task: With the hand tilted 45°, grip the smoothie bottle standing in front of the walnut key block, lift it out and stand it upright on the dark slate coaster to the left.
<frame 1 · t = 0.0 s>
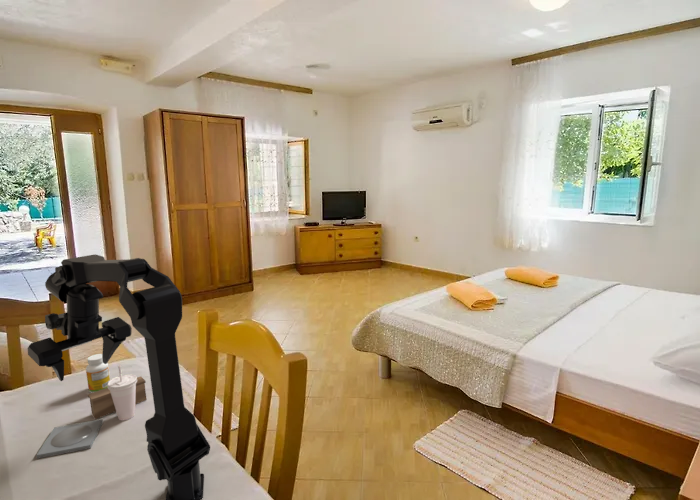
hand: (83, 371, 91), 15 cm above the table, tool pointing down, fingers open, 9 cm apart
supplement bottle: (100, 389, 112), on the table
coaster: (72, 439, 91), on the table
smoothie: (126, 416, 100), on the table
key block: (120, 406, 103), on the table
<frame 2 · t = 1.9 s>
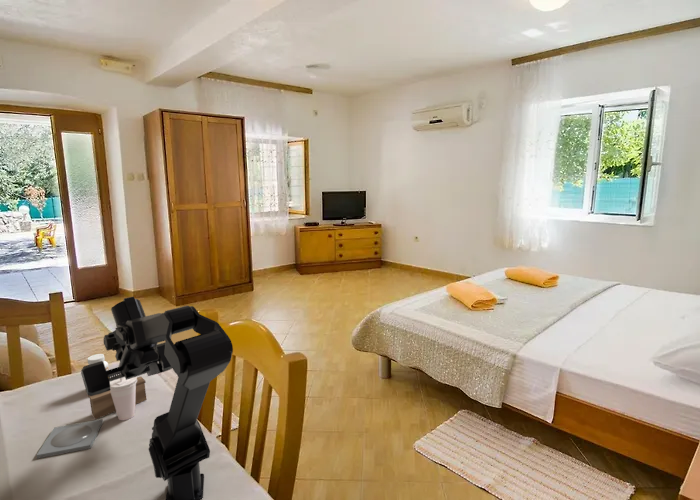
hand: (127, 381, 94), 11 cm above the table, tool tilted 45°, fingers open, 9 cm apart
nothing on the table moved.
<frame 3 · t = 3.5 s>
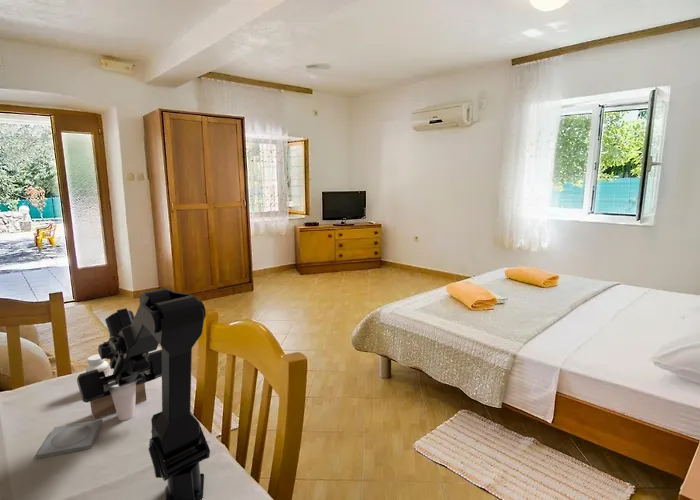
hand: (121, 387, 99), 7 cm above the table, tool tilted 45°, fingers closed on smoothie, 6 cm apart
smoothie: (126, 416, 100), on the table, touching gripper
everything else where it was.
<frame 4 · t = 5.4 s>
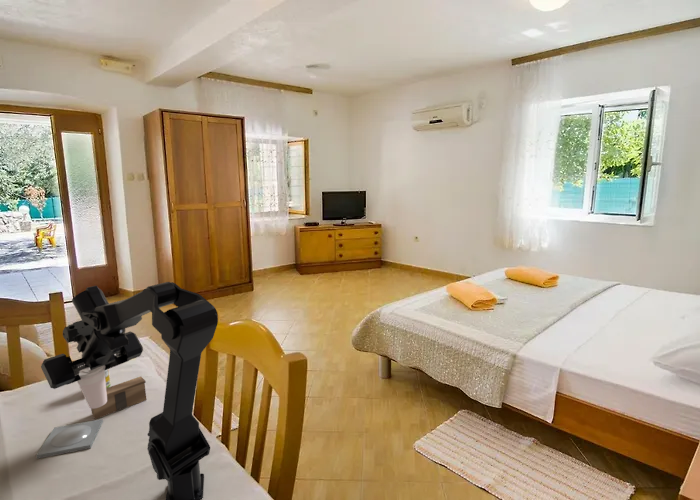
hand: (87, 374, 93), 14 cm above the table, tool tilted 45°, fingers closed on smoothie, 6 cm apart
smoothie: (98, 404, 94), point 6 cm above the table, touching gripper
everything else where it was.
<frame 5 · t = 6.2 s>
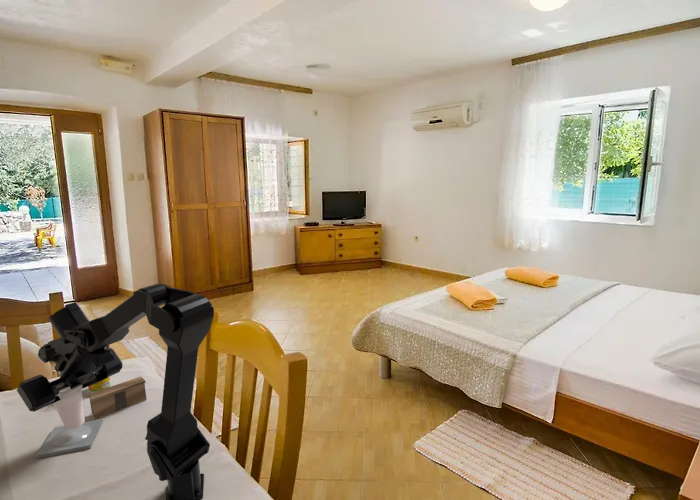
hand: (62, 395, 89), 11 cm above the table, tool tilted 45°, fingers closed on smoothie, 6 cm apart
smoothie: (75, 424, 91), point 3 cm above the table, touching gripper
everything else where it was.
when the fingers open (9 cm above the table, at t = 7.0 s): smoothie stays where it is, resting on coaster.
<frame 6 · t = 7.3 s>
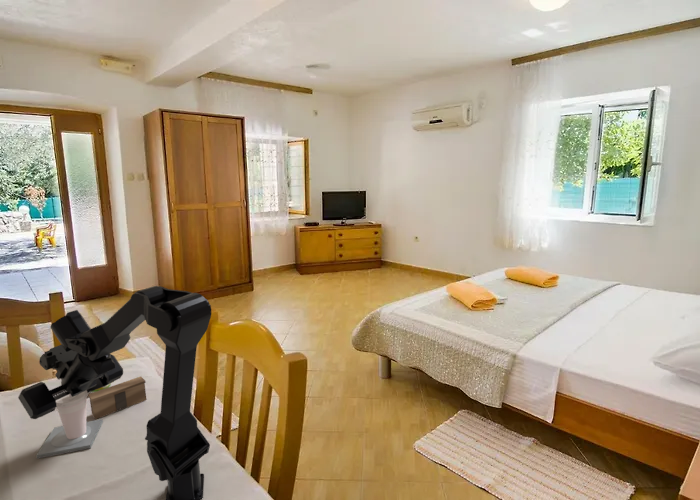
hand: (63, 401, 90), 9 cm above the table, tool tilted 45°, fingers open, 9 cm apart
smoothie: (76, 434, 91), point 1 cm above the table, touching coaster
everything else where it was.
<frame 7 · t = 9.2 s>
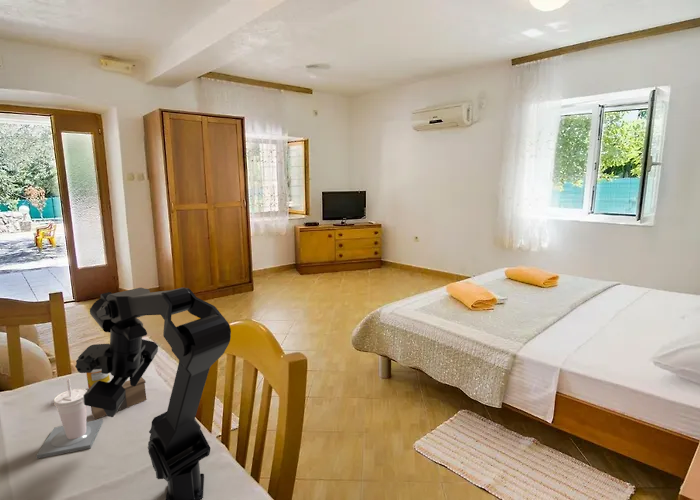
hand: (122, 400, 88), 11 cm above the table, tool tilted 20°, fingers open, 9 cm apart
nothing on the table moved.
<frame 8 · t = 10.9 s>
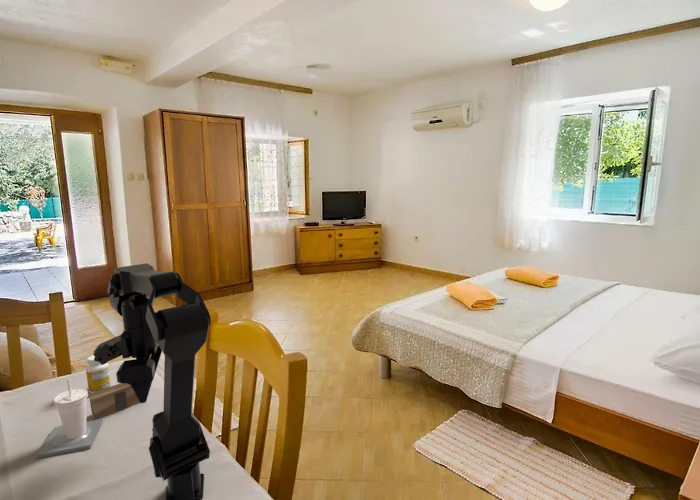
hand: (146, 391, 86), 13 cm above the table, tool pointing down, fingers open, 9 cm apart
nothing on the table moved.
at the end: smoothie inside the target area on the coaster (0.9 cm from its centre), point 0.7 cm above the coaster's base; smoothie tilted 0°; the gripper is holding nothing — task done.
